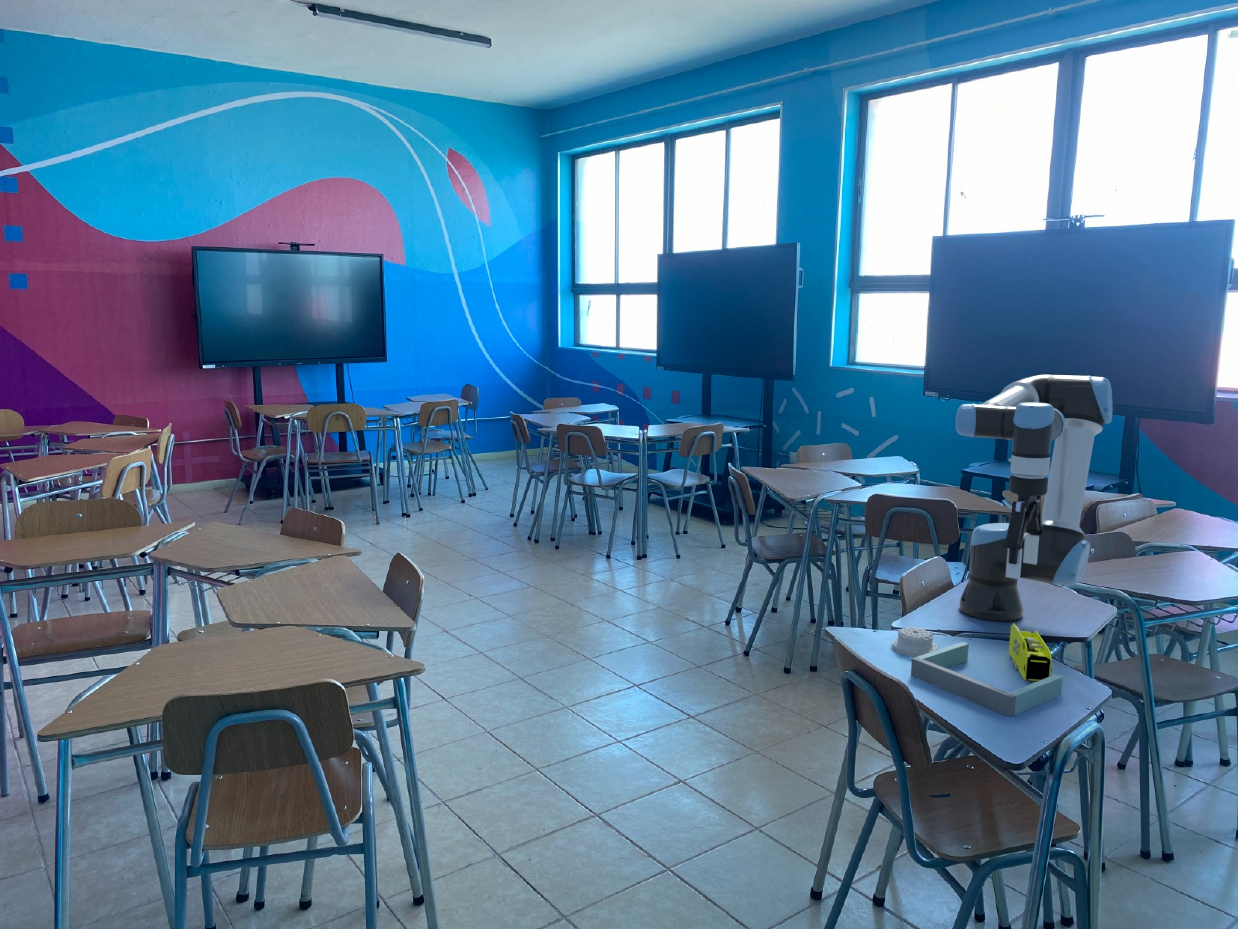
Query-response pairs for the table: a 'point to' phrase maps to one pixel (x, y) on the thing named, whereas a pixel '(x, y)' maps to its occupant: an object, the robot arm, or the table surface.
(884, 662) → the table surface
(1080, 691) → the table surface
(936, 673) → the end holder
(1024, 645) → the yellow toy chassis
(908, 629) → the white cake
